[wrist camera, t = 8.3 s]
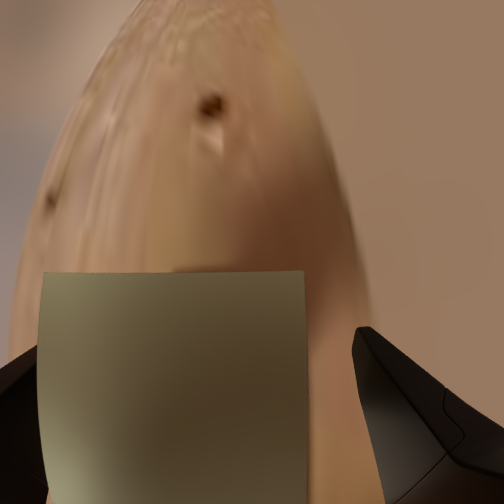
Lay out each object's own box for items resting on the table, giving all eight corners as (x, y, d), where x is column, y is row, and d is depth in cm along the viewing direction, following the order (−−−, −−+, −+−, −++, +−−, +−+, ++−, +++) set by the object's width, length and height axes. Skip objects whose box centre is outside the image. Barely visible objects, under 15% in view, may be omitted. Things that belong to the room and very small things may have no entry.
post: (275, 413, 15) (304, 543, 3) (192, 411, 15) (52, 502, 3) (274, 332, 16) (304, 270, 5) (191, 332, 16) (44, 272, 5)
